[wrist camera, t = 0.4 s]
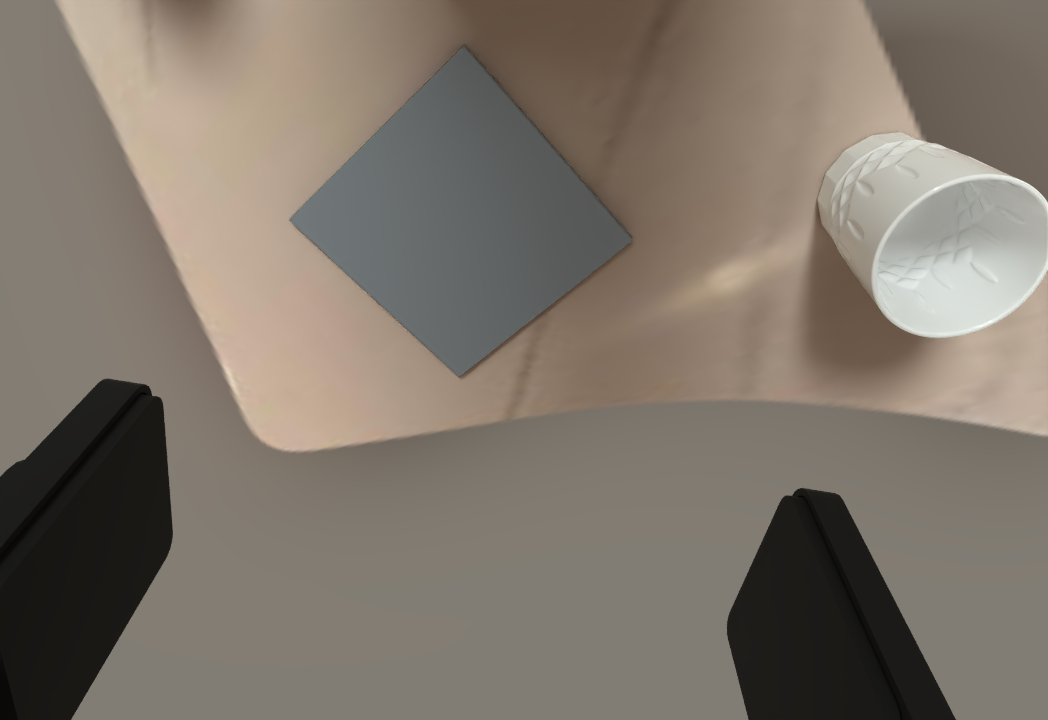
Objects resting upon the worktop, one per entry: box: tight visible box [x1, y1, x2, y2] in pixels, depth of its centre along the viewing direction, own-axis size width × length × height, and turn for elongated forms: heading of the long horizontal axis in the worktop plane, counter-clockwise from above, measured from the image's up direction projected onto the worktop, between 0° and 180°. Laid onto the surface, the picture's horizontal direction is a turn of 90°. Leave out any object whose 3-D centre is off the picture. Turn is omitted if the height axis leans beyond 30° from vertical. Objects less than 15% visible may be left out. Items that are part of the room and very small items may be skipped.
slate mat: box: [289, 45, 632, 377], centre depth 44 cm, size 14×14×1 cm
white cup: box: [817, 132, 1048, 338], centre depth 38 cm, size 8×8×10 cm
